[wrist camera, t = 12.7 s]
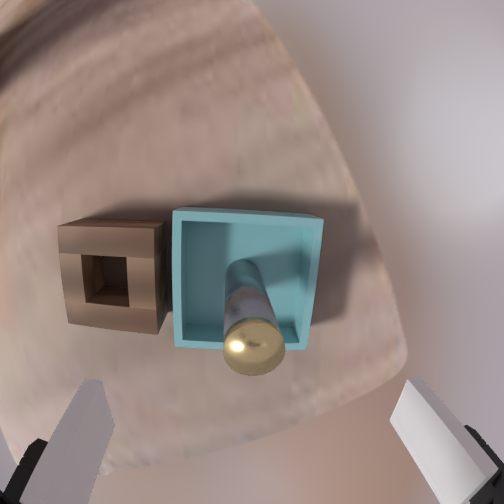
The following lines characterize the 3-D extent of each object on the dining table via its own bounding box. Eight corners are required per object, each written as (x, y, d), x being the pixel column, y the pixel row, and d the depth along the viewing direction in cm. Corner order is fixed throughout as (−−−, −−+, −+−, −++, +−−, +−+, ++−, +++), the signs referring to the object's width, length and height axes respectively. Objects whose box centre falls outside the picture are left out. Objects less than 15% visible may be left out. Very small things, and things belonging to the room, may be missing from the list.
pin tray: (181, 206, 28) (172, 210, 24) (310, 214, 30) (323, 219, 25) (181, 325, 31) (174, 346, 27) (296, 329, 32) (306, 349, 28)
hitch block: (80, 219, 28) (57, 226, 23) (166, 221, 29) (154, 228, 24) (87, 304, 30) (68, 323, 25) (167, 312, 31) (157, 334, 26)
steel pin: (226, 258, 29) (224, 323, 15) (261, 259, 29) (288, 325, 16) (224, 291, 30) (222, 375, 16) (258, 292, 30) (281, 375, 16)
